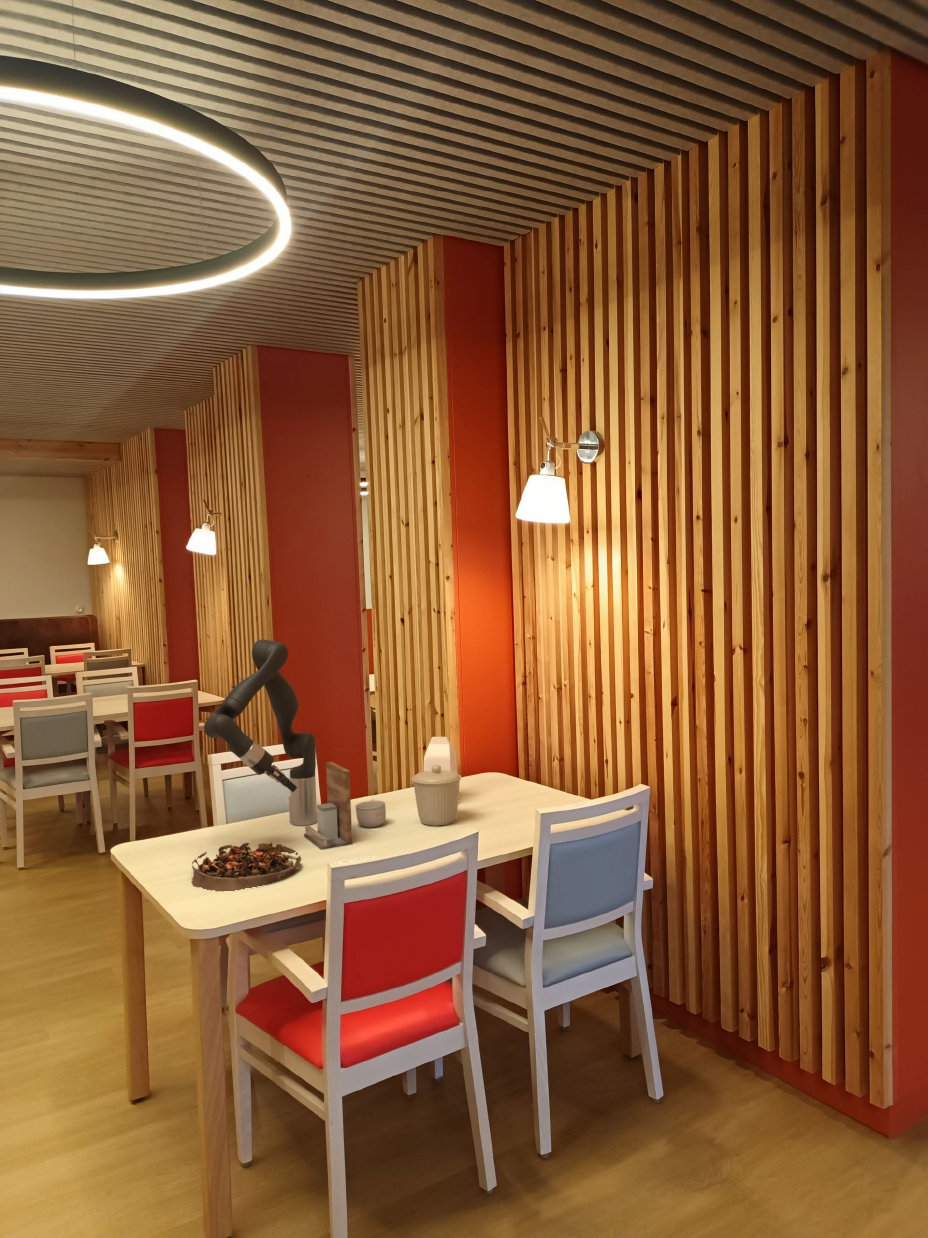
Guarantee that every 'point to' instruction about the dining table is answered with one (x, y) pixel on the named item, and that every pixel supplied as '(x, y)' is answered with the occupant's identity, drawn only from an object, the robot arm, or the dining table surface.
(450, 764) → the milk
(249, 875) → the food dish
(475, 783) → the dining table surface
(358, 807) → the teacup
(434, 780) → the canister
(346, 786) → the wall board
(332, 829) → the grey box
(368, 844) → the dining table surface
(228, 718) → the robot arm
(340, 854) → the dining table surface
